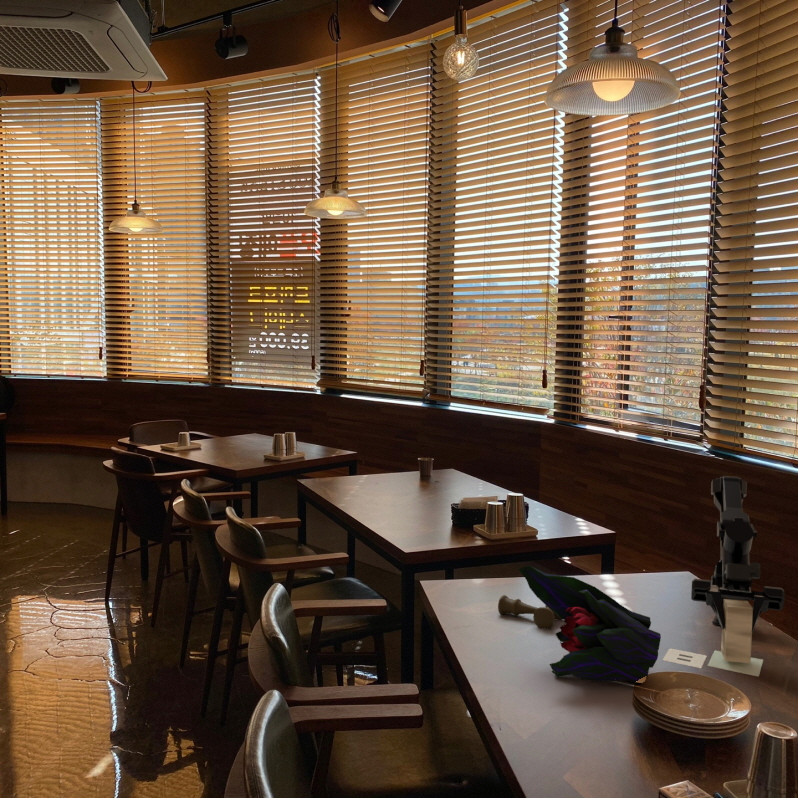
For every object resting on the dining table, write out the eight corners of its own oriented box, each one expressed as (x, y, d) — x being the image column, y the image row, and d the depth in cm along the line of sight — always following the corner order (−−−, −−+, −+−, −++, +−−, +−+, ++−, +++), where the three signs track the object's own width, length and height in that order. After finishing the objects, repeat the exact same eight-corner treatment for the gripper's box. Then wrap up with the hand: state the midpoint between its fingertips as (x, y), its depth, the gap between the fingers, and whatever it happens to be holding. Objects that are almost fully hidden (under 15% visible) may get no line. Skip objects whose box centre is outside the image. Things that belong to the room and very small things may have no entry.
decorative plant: (635, 737, 150) (490, 687, 153) (632, 644, 172) (506, 602, 176) (673, 667, 139) (517, 615, 143) (665, 577, 162) (530, 535, 166)
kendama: (508, 610, 199) (581, 623, 188) (492, 621, 191) (568, 635, 180) (508, 588, 199) (581, 599, 188) (492, 598, 190) (567, 611, 180)
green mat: (714, 652, 170) (714, 650, 170) (763, 661, 165) (763, 659, 165) (707, 667, 161) (707, 665, 161) (758, 677, 156) (758, 676, 156)
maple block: (721, 651, 166) (723, 598, 165) (745, 654, 165) (747, 600, 164) (725, 660, 161) (727, 606, 161) (750, 663, 160) (752, 608, 159)
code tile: (669, 649, 171) (669, 648, 171) (707, 657, 167) (707, 655, 167) (662, 661, 164) (662, 660, 164) (701, 669, 160) (701, 668, 160)
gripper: (693, 543, 169) (692, 606, 159) (785, 551, 162) (790, 618, 152) (691, 568, 177) (690, 630, 167) (779, 577, 170) (784, 642, 160)
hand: (737, 629), depth 161 cm, fingers closed on maple block, 5 cm apart
